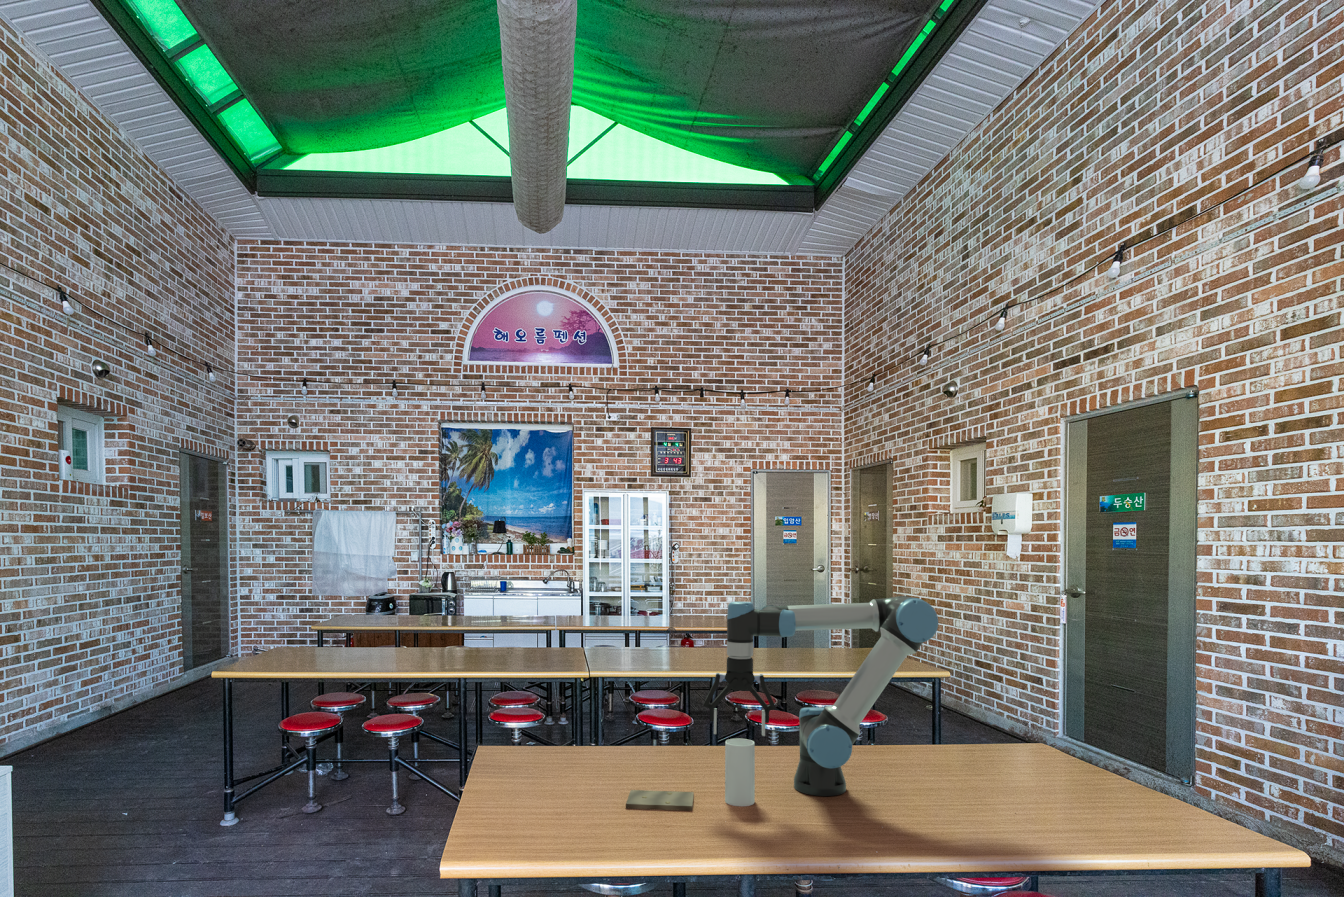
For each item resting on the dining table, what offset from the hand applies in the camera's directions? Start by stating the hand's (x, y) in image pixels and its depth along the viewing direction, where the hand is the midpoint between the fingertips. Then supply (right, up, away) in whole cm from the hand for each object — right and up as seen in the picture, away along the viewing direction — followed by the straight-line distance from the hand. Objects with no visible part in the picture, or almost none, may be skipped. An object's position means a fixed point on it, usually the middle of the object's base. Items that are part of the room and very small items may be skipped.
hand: (739, 734), depth 217 cm
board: (-22, -17, -4) cm, 28 cm away
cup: (0, -18, -2) cm, 18 cm away
